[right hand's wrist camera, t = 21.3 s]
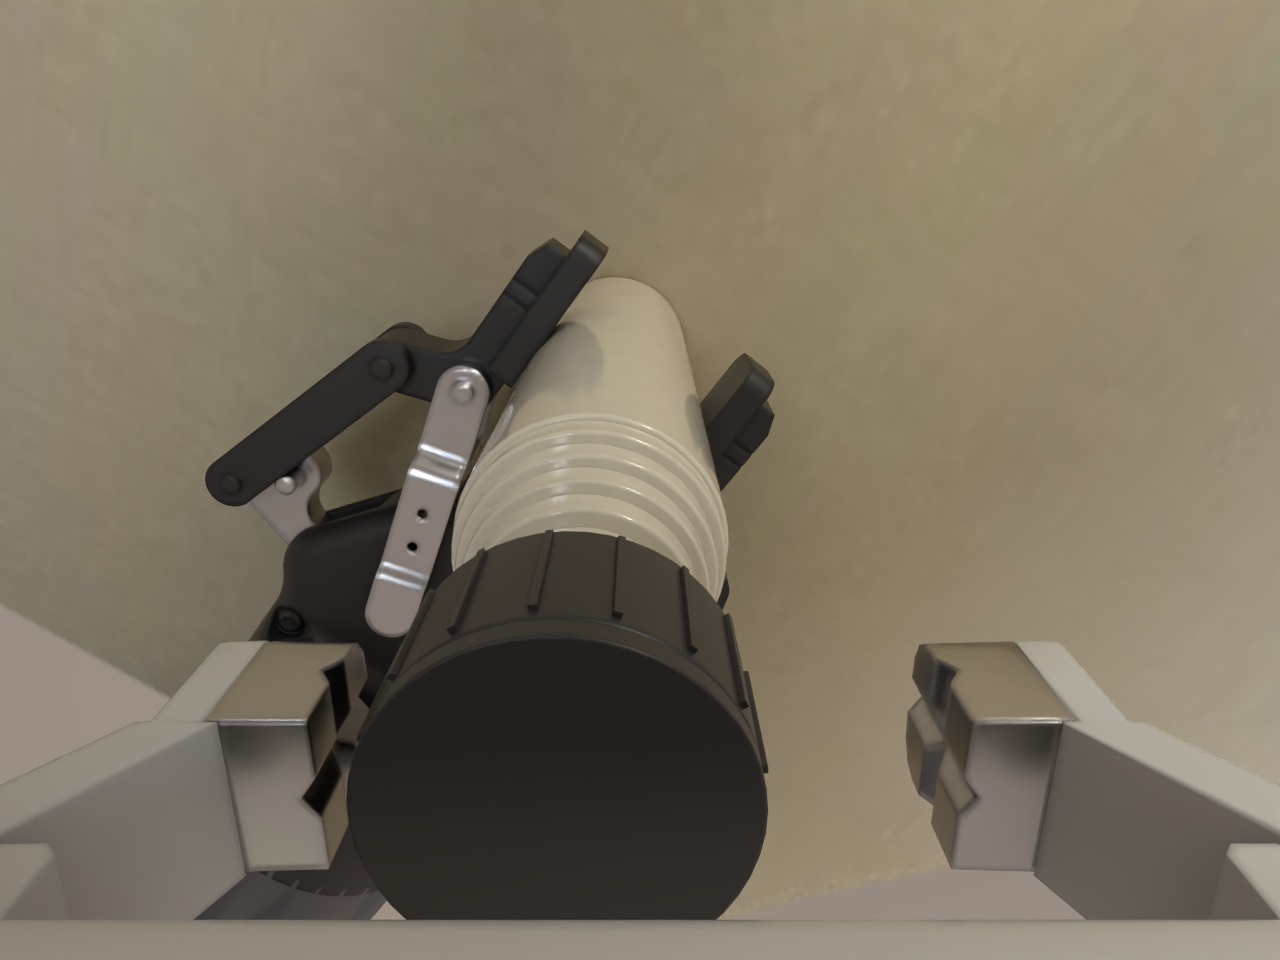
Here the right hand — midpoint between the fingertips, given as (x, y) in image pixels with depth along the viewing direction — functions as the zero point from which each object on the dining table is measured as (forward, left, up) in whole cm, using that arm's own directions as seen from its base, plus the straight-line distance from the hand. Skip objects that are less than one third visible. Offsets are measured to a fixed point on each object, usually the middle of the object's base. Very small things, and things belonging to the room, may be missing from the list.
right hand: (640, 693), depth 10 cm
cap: (-1, 0, +2) cm, 2 cm away
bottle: (-1, 0, -18) cm, 18 cm away
